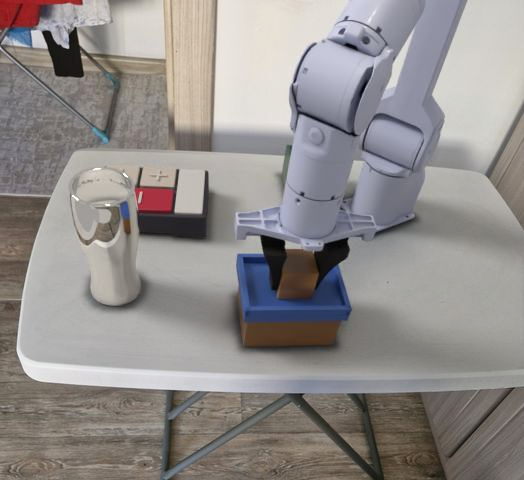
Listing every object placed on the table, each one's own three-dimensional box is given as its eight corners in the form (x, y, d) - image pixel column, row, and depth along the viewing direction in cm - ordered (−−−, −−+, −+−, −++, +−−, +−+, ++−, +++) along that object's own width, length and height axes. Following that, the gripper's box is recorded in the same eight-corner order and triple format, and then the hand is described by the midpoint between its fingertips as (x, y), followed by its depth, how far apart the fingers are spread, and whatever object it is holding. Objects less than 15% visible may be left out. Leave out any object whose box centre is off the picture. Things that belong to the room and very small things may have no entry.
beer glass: (143, 268, 68) (136, 165, 56) (145, 307, 64) (138, 206, 52) (87, 269, 67) (67, 165, 55) (86, 310, 63) (64, 207, 51)
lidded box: (323, 294, 69) (335, 254, 64) (337, 347, 64) (352, 309, 58) (232, 294, 67) (237, 253, 62) (239, 350, 62) (245, 310, 56)
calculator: (103, 160, 75) (208, 165, 76) (108, 186, 79) (208, 190, 80) (89, 208, 68) (205, 213, 70) (95, 234, 72) (206, 238, 73)
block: (305, 274, 62) (312, 248, 59) (311, 299, 60) (319, 273, 57) (272, 274, 62) (277, 248, 59) (277, 299, 59) (282, 273, 56)
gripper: (244, 207, 46) (232, 310, 57) (399, 210, 49) (360, 309, 59) (237, 161, 51) (227, 265, 61) (380, 166, 53) (346, 265, 64)
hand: (292, 284), depth 61 cm, fingers closed on block, 4 cm apart
